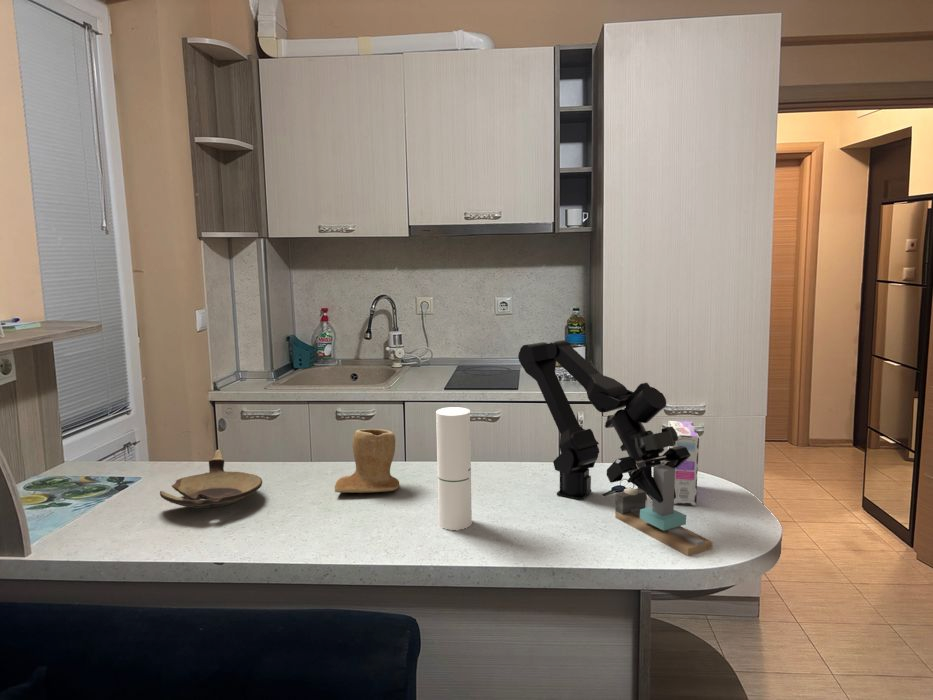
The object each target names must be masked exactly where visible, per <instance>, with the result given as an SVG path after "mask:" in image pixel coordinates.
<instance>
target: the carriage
mask: <svg viewBox="0 0 933 700" xmlns="http://www.w3.org/2000/svg"><path fill="white" fill-rule="evenodd" d="M652 468H653V470H652V471H653V472H652V477H653V479H654V481H655V483H656V485H657V487H658V489H659V491H660V493H661V495H662V497H663V502H661V503H659V502H658V501H656V500H655V499H654V498H653V497H652V506H648V507H646V508H644V509H640V519H642V520H644V521H646V522H648V523H650V524H652V525H654V526H656V527H657V528H659V529H661V530H663V531H664V530H668V529H671V528H675V527H678V526H681V527H683V526H686V525H687V514H684V513H682V512H680V511H678V510H676V509H675V504H674V486H675V469H674V468H671V467H669V466H666V465H662V466H657V467H652Z"/></svg>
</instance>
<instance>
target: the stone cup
mask: <svg viewBox="0 0 933 700" xmlns="http://www.w3.org/2000/svg"><path fill="white" fill-rule="evenodd" d="M351 442H352V444H351V445H352V446H351V447H352V453H353V458H354V462H355V471H354V473H352V474H351V475H345V476H341V477H340V478H338V479H337V480H336V482H335V485H334V492H335V493H340V494H341V493H343V494H346V493H350V494H355V493H359V494H364V493H367V494H368V493H381V492H382V493H385V492H392V491H395V490H398V488H399V486H400V480H399V479H398V478H396V477H394V476H392V475H391V466H392V462H393V460H394V457H395V453H396V435H395V433H394V432H393V431H391V430H387V429H380V428H363V429H357V430H356V431H354V433H353V436H352V441H351Z"/></svg>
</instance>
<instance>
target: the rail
mask: <svg viewBox="0 0 933 700" xmlns="http://www.w3.org/2000/svg"><path fill="white" fill-rule="evenodd" d="M646 500H647V493H646V492H645V491H643V490H642V489H641V488H639V487H637V488H632V487H631V488H630V487H627V488H625V489H623V491H620V492H616V493H615V505H614V507H615V512H614V513H615V516H614V517H615V518H616V519H618V520H619V521H621V522H623V523H625V524H627V525H629V526H631V527H632V528H634V529H636V530H638V531H640V532H642V533H644V534H645V535H647V536H650V537H652V538H654V539H655V540H657V541H659V542H661V543H662V544H664V545H666V546H668V547H670V548H672V549H673V550H675V551H677V552H678V553H679V552H680V553H682V554H683V555H686V556H687V557H689V556H693V555H696V554H699V553H703V552H705V550H706V551H710V550H712V549H713V541H712V540H710V539H708V538H706V537H704V536H702V535H700V534H698V533H695V532H694V531H691V530H689V529H687V528H685V527H684V526H678V527H675V528H671V529H668V530H664V531H663V530H661V529H659V528H657V527H656V526H654V525H652V524H650V523H648V522H646V521H644V520H642V519H640V509H644V508H647V507H646V504H647V501H646ZM702 551H703V552H702ZM698 552H699V553H698ZM695 553H696V554H695ZM692 554H693V555H692Z"/></svg>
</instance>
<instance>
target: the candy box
mask: <svg viewBox="0 0 933 700" xmlns="http://www.w3.org/2000/svg"><path fill="white" fill-rule="evenodd" d="M667 423H668V424H667V425H668V426H667V427H671V426H672V427H673V428H674V430H675V431H676V433H677V436H678V440H677V441H674V445H675V446H668V447H667V450H668V449H670V448H673V447H678V446H684V447H686V448H687V450H688V452H689V453H690V455H691V456H690V457H689V458H688V459H686V460H685V461H684V462H683V463H682V464H681V465H680V466H679V467H677V468H675V486H674V487H675V493H676V498H675V499H674V505H684V506H685V505H686V506H694V507H695V506H697V491H698V471H699V470H698V469H699V451H700V450H699V445H700V436H699V434H698V432H697V429H696V427H695V425H694V423H693V421H689V420H688V421H685V420H668V422H667Z"/></svg>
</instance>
